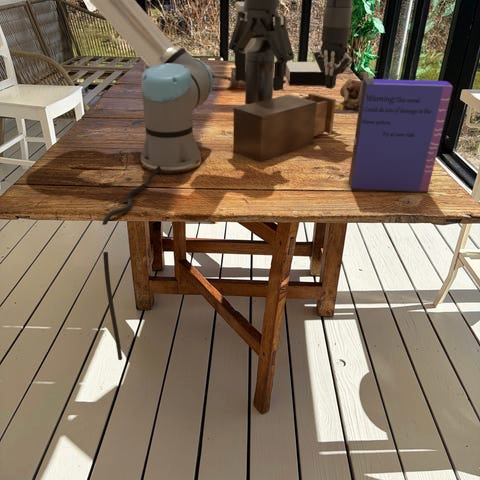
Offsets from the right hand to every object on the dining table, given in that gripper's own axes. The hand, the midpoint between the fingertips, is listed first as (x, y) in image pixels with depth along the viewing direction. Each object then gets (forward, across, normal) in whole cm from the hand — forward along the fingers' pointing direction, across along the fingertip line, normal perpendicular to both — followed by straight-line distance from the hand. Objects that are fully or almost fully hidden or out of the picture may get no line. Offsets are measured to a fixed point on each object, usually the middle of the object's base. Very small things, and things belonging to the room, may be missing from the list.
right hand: (329, 88), depth 141 cm
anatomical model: (+13, +12, -30) cm, 35 cm away
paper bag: (+13, +74, -41) cm, 85 cm away
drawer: (+12, 0, +10) cm, 16 cm away
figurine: (+13, +54, -18) cm, 58 cm away
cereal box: (+13, -36, +22) cm, 44 cm away
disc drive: (+13, +50, -50) cm, 72 cm away
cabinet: (+13, 0, +23) cm, 26 cm away
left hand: (-5, 0, +30) cm, 30 cm away
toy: (+13, +94, -13) cm, 95 cm away
